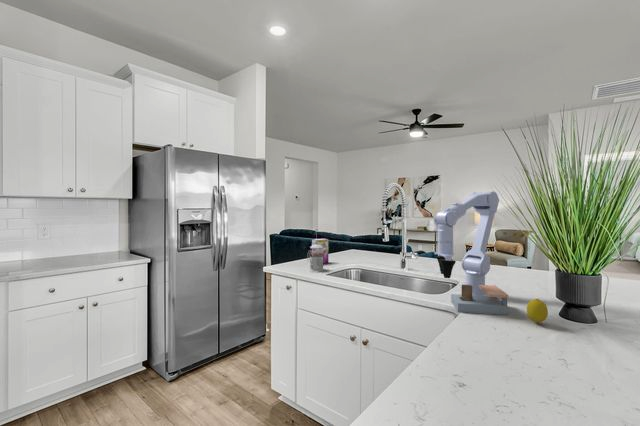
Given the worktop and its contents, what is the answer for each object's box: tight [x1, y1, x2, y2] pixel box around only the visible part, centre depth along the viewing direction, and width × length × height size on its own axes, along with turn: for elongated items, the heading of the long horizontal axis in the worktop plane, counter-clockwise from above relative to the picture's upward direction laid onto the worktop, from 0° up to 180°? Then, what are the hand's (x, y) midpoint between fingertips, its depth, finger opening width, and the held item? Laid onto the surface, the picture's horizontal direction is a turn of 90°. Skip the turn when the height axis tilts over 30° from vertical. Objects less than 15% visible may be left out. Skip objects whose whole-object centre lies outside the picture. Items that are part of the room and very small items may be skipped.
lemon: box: [526, 297, 549, 325], centre depth 98 cm, size 6×6×8 cm
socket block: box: [450, 284, 509, 316], centre depth 114 cm, size 13×16×7 cm
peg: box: [461, 284, 472, 301], centre depth 115 cm, size 4×4×8 cm
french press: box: [306, 228, 326, 273], centre depth 186 cm, size 10×12×25 cm
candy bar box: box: [311, 238, 330, 264], centre depth 208 cm, size 11×5×16 cm, turn 130°
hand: (445, 275), depth 123 cm, fingers open, 7 cm apart
